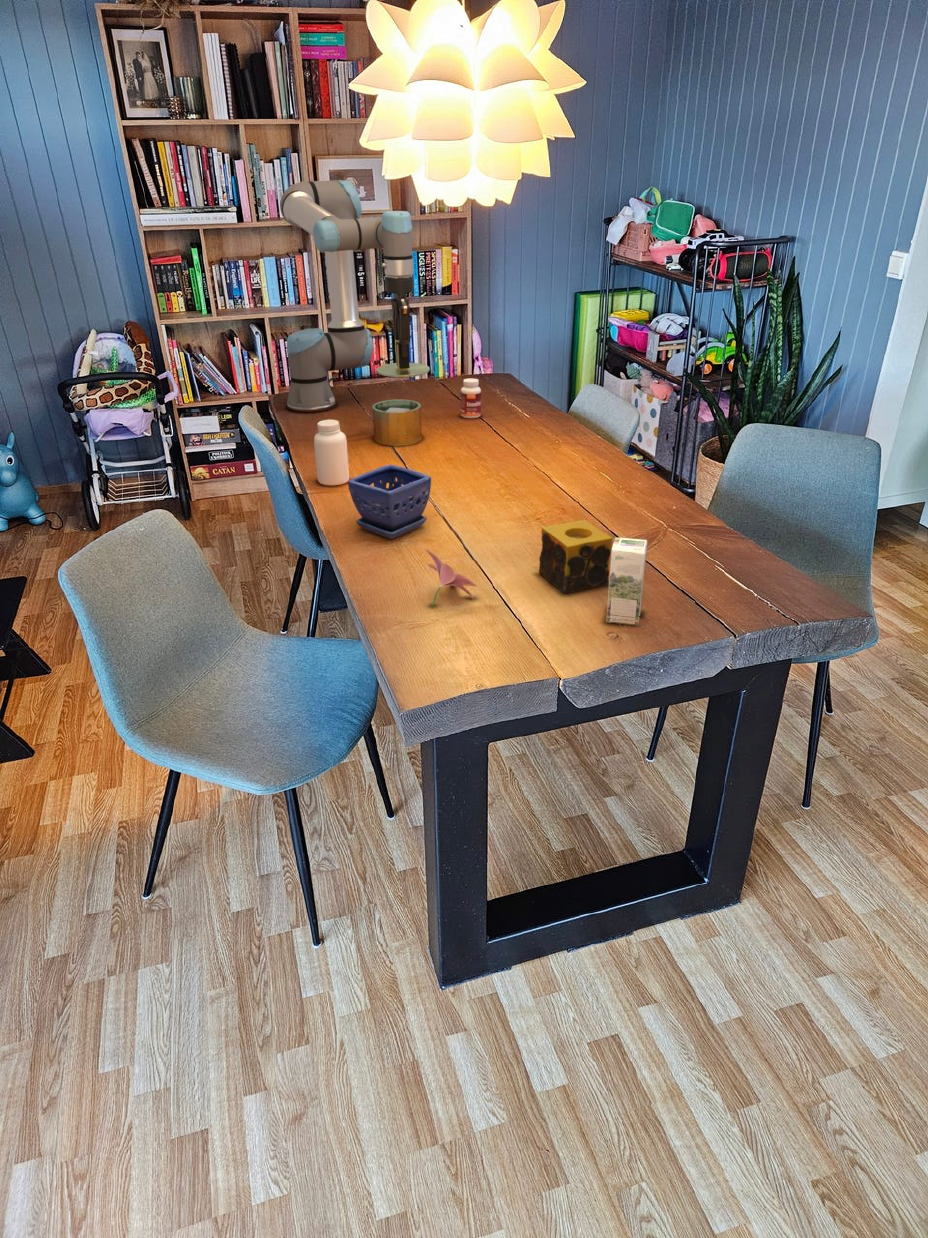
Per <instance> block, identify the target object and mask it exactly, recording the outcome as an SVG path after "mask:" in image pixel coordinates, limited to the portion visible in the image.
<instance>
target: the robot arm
mask: <svg viewBox="0 0 928 1238" xmlns="http://www.w3.org/2000/svg"><path fill="white" fill-rule="evenodd" d="M279 210H280V214H281V216H282V217H283V219H284V220H285V222H287V224H289V225H291V226H292V227H295V228H298V229H303V230H304V231H305V232H307V233H308V234H309V235H311V236H312V238H313V242H314V245H315V247H316V249H317V251H319V252H322V253H323V252H324V257H325V259H324V260H325V267H326V277H327V289H328V296H329V297H328V298H329V309H330V316H331V320H330V322H329V323H328V324H327V332H324V330H323V329H322V328H319V327H317V328H316V327H314V328H305V329H301V330H297V331H294V332H293V333H290V335H288V337H286V354H287V361H288V369H289V370H288V371H289V378H290V379H289V380H290V385H289V390H288V396H287V400H286V401H287V402H286V405H287V410H289V411H293V412H296V413H319V412H326V411H329V410H331V409H333V408H335V407H336V405H337V404H336V399H335V395H334V393H333V391H332V385H331V384H330V383H331V382H332V381H333V382H336V381H337V380H336V379H335V377H330V378H328V372H335V371H343V370H349V369H353V370H356V369H358V368H359V369H360V368H363V367H366V366H367V365H369V363H370V362H371V360H372V356H373V351H374V342H373V337H372V333H371V331H370V330H369V328H366V327H365V323H364V321H362V319H360V315H359V313H360V312H359V303H358V293H357V280H356V270H355V257H354V251H355V250H356V251H357V250H375V249H376V250H377V249H382V250H383V251H382V252H383V263H381V266H382V268H384V275H385V276H386V277H385V278H384V288H385V292H386V293H388V294H393V295H392V298H391V299H390V306H391V315H392V316H391V317H392V335H393V337H394V340H395V359H396V361H395V363H397V345H398V350H399V368H400V369H406V368H410V367H409V363H410V346H409V345H410V343H411V305H410V300H409V299H408V297H407V294H410V293H413V292H414V291H415V285H414V283H415V282H414V281H415V280H414V277H413V276H412V275H414V257H413V225H412V215H411V213H410V212H409V211H407V210H387V211H383V212H382V214H381V215H374V216H370V217H362V213H363V211H362V210H363V209H362V202H361V199H360V195H359V192H358V190H357V188H356V187H355V185H354V184H353V183H352V182H351V181H349V180H341V179H334V180H333V179H332V180H313V181H312V180H311V181H308V180H307V181H299V182H296V183H294V184H291V185H290V186H288V187H287V188H286V189H285V191H284V192H283V193H282V195H281V197H280V201H279ZM397 340H399V342H396V341H397ZM397 366H398V364H397Z"/></svg>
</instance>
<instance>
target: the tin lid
mask: <svg viewBox="0 0 928 1238" xmlns="http://www.w3.org/2000/svg"><path fill="white" fill-rule="evenodd" d="M395 341H396V342H399V340H395ZM396 342H395V343H396ZM397 364H398V366H397ZM409 367H410V368H406V369H400V368H399V350H398V345H397V363H396V362H391V363H387V364H383V365H380V366H378V367H377V368H376V373H377V374H378V375H381V376H383V377H389V378H399V379H401V378H402V379H403V378H405V379H406V378H414V377H420V376H423V375H426V374H428V373H429V372H430V370H431V368H430V366H428V365H426V364H424V363H419V362H409Z"/></svg>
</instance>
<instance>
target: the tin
mask: <svg viewBox="0 0 928 1238" xmlns="http://www.w3.org/2000/svg"><path fill="white" fill-rule="evenodd" d="M389 408H406V409H410V410H408V411H402V412H387V411H386V410H388V409H389ZM371 409H372V424H373V425H372V426H373V439H374V442H375V443H376V444H378V445H382V446H388V447H404V446H405V447H406V446H412V445H414V444H417V443H419V442H421V441H422V440H423V423H422V405H421V403H420V402H418V401H415V400H411V399H387V400H386V399H385V400H381V401H378V402H375V403H374V404H372V407H371Z"/></svg>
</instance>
